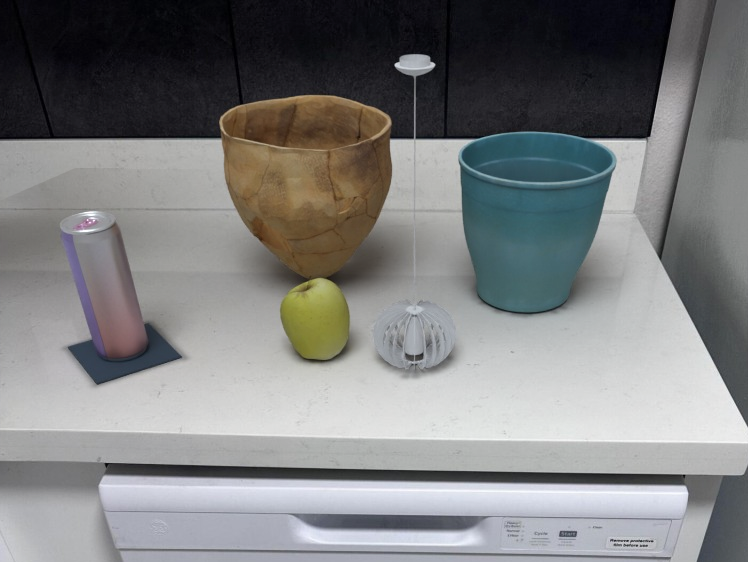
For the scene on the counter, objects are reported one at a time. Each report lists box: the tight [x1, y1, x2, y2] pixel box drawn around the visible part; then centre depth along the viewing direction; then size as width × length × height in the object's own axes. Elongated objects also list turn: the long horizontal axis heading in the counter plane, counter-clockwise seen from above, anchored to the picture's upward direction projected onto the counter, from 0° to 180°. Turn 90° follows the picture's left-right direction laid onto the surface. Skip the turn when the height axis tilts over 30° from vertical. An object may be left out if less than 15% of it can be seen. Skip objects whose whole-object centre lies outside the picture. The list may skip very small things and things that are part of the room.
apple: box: [279, 276, 351, 361], centre depth 88 cm, size 8×8×10 cm
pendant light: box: [372, 53, 457, 371], centre depth 80 cm, size 9×9×30 cm
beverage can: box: [59, 210, 148, 362], centre depth 87 cm, size 6×6×15 cm
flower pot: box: [457, 131, 618, 313], centre depth 96 cm, size 18×18×17 cm
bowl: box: [218, 94, 393, 280], centre depth 99 cm, size 21×20×20 cm
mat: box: [67, 322, 183, 385], centre depth 92 cm, size 10×10×1 cm
